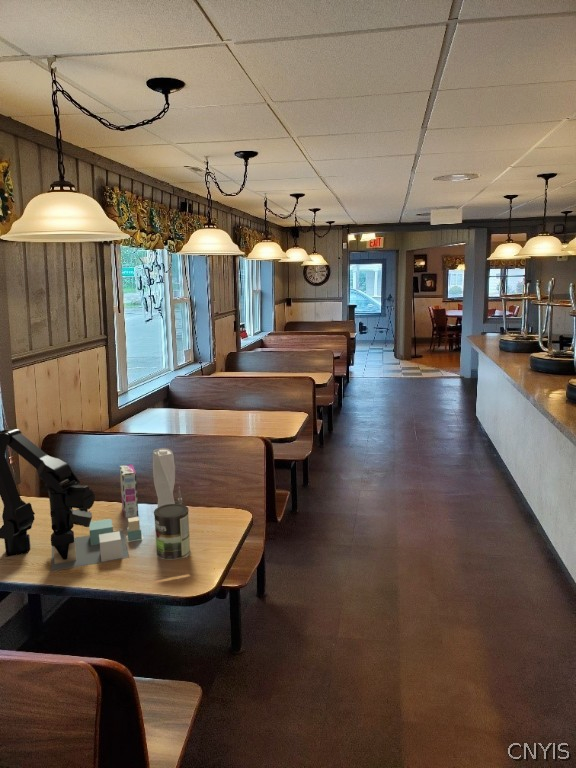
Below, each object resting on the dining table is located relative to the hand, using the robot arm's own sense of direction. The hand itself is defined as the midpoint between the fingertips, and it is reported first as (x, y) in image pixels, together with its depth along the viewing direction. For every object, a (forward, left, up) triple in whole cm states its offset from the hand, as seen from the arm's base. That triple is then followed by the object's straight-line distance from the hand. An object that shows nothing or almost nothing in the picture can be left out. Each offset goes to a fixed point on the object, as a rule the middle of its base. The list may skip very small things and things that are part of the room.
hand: (65, 554), depth 177 cm
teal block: (+11, +9, -1) cm, 14 cm away
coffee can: (+31, -9, -2) cm, 32 cm away
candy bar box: (+22, +29, -2) cm, 36 cm away
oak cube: (0, 0, -1) cm, 1 cm away
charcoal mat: (+7, +3, -2) cm, 8 cm away
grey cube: (+13, -4, -1) cm, 14 cm away
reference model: (+21, +6, -2) cm, 22 cm away
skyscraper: (+33, +13, -2) cm, 36 cm away
